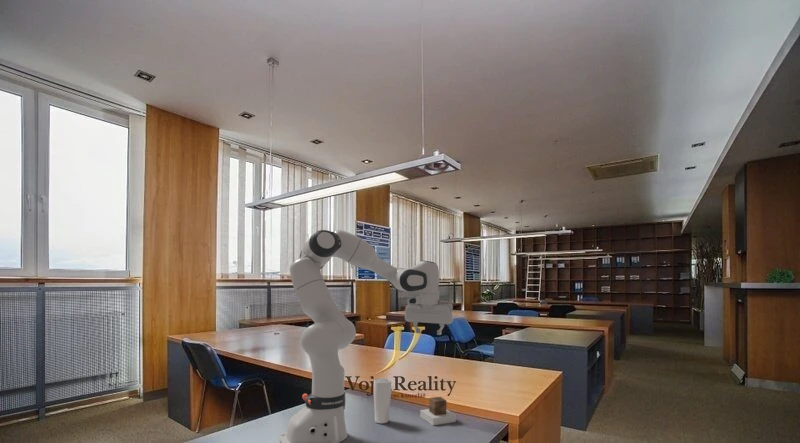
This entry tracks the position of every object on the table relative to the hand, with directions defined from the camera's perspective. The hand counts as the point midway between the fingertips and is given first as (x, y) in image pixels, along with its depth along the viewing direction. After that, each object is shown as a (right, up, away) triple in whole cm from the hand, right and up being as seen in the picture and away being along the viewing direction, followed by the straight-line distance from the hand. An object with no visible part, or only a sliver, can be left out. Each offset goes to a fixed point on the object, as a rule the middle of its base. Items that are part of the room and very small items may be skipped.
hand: (428, 333), depth 172 cm
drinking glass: (-19, -30, -14) cm, 38 cm away
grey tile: (+3, -30, -11) cm, 32 cm away
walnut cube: (+3, -28, -11) cm, 30 cm away
